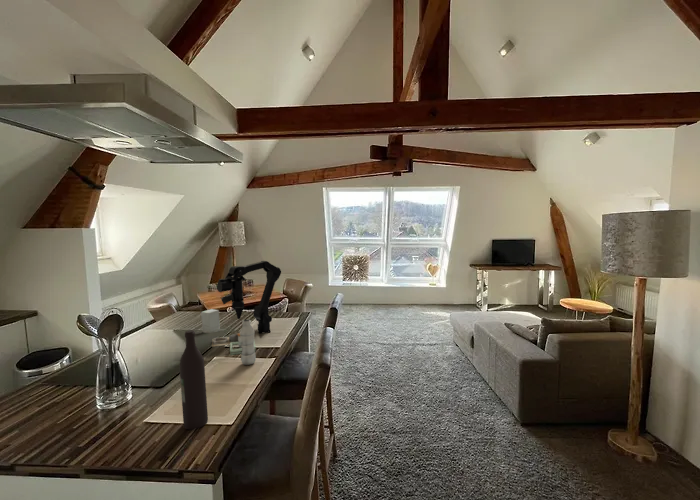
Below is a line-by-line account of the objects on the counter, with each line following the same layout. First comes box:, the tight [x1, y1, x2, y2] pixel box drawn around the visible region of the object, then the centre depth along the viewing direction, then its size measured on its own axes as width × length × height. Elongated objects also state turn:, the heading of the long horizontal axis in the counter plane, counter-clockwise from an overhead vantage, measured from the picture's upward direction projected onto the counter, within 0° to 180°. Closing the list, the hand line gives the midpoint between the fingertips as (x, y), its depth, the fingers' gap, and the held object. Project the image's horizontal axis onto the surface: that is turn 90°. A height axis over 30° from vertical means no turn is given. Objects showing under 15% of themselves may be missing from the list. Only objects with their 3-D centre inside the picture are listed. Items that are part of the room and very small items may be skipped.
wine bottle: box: [179, 329, 209, 431], centre depth 107 cm, size 7×7×30 cm
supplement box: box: [200, 308, 221, 334], centre depth 204 cm, size 7×7×13 cm
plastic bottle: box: [239, 318, 257, 366], centre depth 154 cm, size 6×7×20 cm
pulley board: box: [211, 332, 239, 347], centre depth 183 cm, size 18×13×4 cm
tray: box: [229, 340, 257, 356], centre depth 173 cm, size 12×12×2 cm
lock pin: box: [238, 332, 242, 349], centre depth 172 cm, size 4×4×8 cm
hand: (238, 316), depth 188 cm, fingers open, 9 cm apart
